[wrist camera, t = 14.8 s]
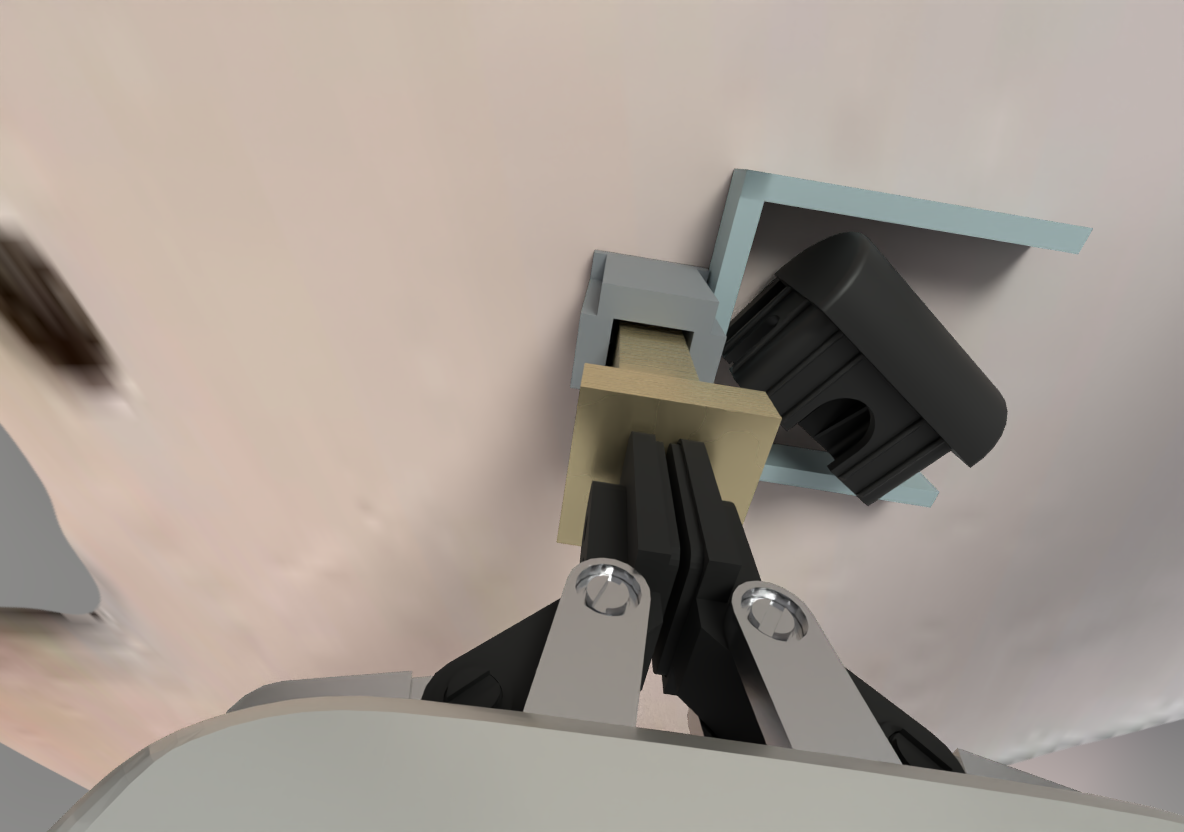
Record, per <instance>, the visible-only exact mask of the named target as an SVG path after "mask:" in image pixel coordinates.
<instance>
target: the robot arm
mask: <svg viewBox="0 0 1184 832" xmlns="http://www.w3.org/2000/svg"><path fill="white" fill-rule="evenodd" d="M651 659H652V666H653V672H654V674H659V675H662V682H663V694H670V695H677V696H678V697H679V698H680V699H681V700H682V701H683V702H684V703H685V704H686V705H687V706H688V707H689V709H688V714H687V718H688V727H689V730H690V734H691V735H690V734H683V733H676V732H668V731H661V730H653V729H646V728H639V727H636V719H637V711H638V702H639V694H640V691H641V690H642V688H643V685H644V682H645V678H646V675H647V672H648V669H649V665H650V662H651ZM47 832H1184V816H1182V815H1178V814H1175V813H1171V812H1168V811H1164V810H1161V809H1157V808H1153V807H1150V806H1145V805H1141V804H1136V803H1131V802H1126V801H1122V800H1117V799H1112V798H1108V797H1103V796H1098V795H1094V794H1088V793H1082V792H1080V791H1077V790H1074V789H1071V788H1068V787H1065V786H1063V785H1060V784H1057V783H1054V782H1052V781H1049V780H1045V779H1043V778H1040V777H1037V776H1035V775H1032V774H1029V773H1026V772H1023V771H1021V770H1018V769H1015V768H1012V767H1009V766H1007V765H1004V764H1001V763H998V762H995V761H993V760H990V759H987V758H984V757H981V756H979V755H976V754H973V753H970V752H967V751H964V750H962V749H959V748H957V749H956V750H955V752H954V753H953V754H952V752H951V751H950V750H949V749H948V748H947V746H946V745H945V744H944V743H942V742H941V741H940V740H939V739H938V738H937V737H936V736H935V735H933V734H932V733H931V732H930V731H929V730H927V729H926V728H925V727H923V726H922V725H921V724H919V723H918V722H917V721H915V720H914V719H913V718H911V717H910V716H909V715H907V714H906V713H905V712H903V711H902V710H901V709H900V708H898V707H897V706H896V705H894V704H893V703H892V702H890V701H889V700H888V699H886V698H885V697H884V696H882V695H881V694H880V693H878V692H877V691H876V690H874V689H873V688H872V687H870V686H869V685H868V684H866V683H865V682H864V681H863V680H861V679H860V678H859V677H857V676H856V675H855V674H853V673H852V672H851V671H849V670H848V669H847V668H845V667H844V666H843V664H842V662H841V661H840V659H839V657H838V655H837V654H836V652H835V650H834V649H833V647H832V645H831V644H830V642H829V640H828V639H827V637H826V635H825V634H824V632H823V630H822V629H821V627H820V625H819V624H818V622H817V620H816V619H815V617H814V615H813V614H812V612H811V611H810V610H809V608H808V607H807V606H806V605H805V603H804V602H802V601H801V600H800V599H799V598H798V597H797V596H795V595H794V594H793V593H791V592H789V591H788V590H786V589H784V588H783V587H780V586H777V585H775V584H772V583H769V582H763V581H761V579H760V576H759V573H758V570H757V567H756V564H755V561H754V558H753V555H752V552H751V549H750V547H749V544H748V541H747V538H746V535H745V532H744V529H743V526H742V523H741V520H740V517H739V514H738V511H737V509H736V506H735V504H734V503H733V502H730V501H724V500H722V498H721V495H720V492H719V489H718V485H717V482H716V479H715V476H714V472H713V469H712V466H711V463H710V459H709V456H708V453H707V450H706V446H705V444H704V442H699V441H693V440H686V439H679V440H678V442H677V444H673V443H670V444H669V446H668V449H667V453H666V456H665V449H664V443H663V442H660V441H656V437H655V435H654V434H648V433H641V432H635V431H631V433H630V437H629V441H628V446H627V451H626V455H625V460H624V465H623V469H622V474H621V479H620V483H619V484H612V483H606V482H599V481H593V480H592V483H591V488H590V493H589V498H588V504H587V510H586V516H585V522H584V529H583V537H582V545H581V556H580V564H578V565H577V566H576V567H574V568H573V569H572V571H571V572H570V574H569V576H568V578H567V581H566V584H565V587H564V590H563V593H562V596H561V598H560V599H558V600H557V601H555V602H553V603H551V604H550V605H548V606H546V607H544V608H543V609H541V610H539V611H538V612H536V613H534V614H532V615H531V616H529V617H527V618H526V619H524V620H522V621H520V622H519V623H517V624H515V625H513V626H512V627H510V628H508V629H507V630H505V631H503V632H501V633H500V634H498V635H496V636H495V637H493V638H491V639H489V640H488V641H486V642H484V643H482V644H481V645H479V646H477V647H476V648H474V649H472V650H470V651H469V652H467V653H465V654H464V655H462V656H460V657H458V658H457V659H455V660H453V661H451V662H450V663H448V664H447V665H445V666H444V667H443V668H442V669H440V670H439V671H438V672H436V673H435V675H434V676H429V677H417V678H412V671H403V672H391V673H378V674H365V675H352V676H340V677H327V678H314V679H302V680H289V681H281V682H277V683H272V684H268V685H264V686H262V687H260V688H258V689H256V690H254V691H252V692H251V693H249V694H247V695H245V696H244V697H243V698H241V699H240V700H239V701H238V702H237V703H236V704H235V705H233V706H232V707H231V708H230V709H229V710H228V711H227V712H226V714H223V715H220V716H217V717H214V718H211V719H207V720H204V721H201V722H199V723H196V724H194V725H191V726H188V727H186V728H183V729H181V730H178V731H176V732H174V733H172V734H170V735H168V736H166V737H164V738H162V739H160V740H158V741H156V742H154V743H152V744H150V745H149V746H147V747H145V748H144V749H142V750H141V751H139V752H138V753H136V754H135V755H133V756H132V757H131V758H129V759H128V760H126V761H125V762H124V763H122V764H121V765H119V766H118V767H117V768H115V769H114V770H113V771H112V772H110V773H109V774H108V775H107V776H105V777H104V778H103V779H102V780H101V781H100V782H99V783H98V784H96V785H95V786H94V787H93V788H92V789H91V790H90V791H89V792H87V793H86V794H85V795H84V796H83V797H82V798H81V799H80V800H78V801H77V802H76V803H75V804H74V805H73V806H72V807H71V808H70V809H69V810H68V811H67V812H66V813H65V814H64V815H63V816H62V817H61V818H60V819H59V820H58V821H57V822H56V823H55V824H54V825H53V826H52V827H51V828H50V829H49V830H48V831H47Z"/></svg>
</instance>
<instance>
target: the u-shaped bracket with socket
mask: <svg viewBox="0 0 1184 832" xmlns="http://www.w3.org/2000/svg"><path fill="white" fill-rule="evenodd" d="M764 201H766V202H772V203H778V204H784V205H790V206H796V207H801V208H807V209H813V210H819V211H825V212H831V213H837V214H843V215H849V216H855V217H861V218H867V219H872V220H878V221H884V222H890V223H896V224H902V225H908V226H914V227H920V228H926V229H932V230H938V231H943V232H949V233H955V234H961V235H967V236H973V237H979V238H985V239H991V240H997V241H1003V242H1009V243H1015V244H1020V245H1026V246H1032V247H1038V248H1044V249H1050V250H1056V251H1062V252H1068V253H1074V254H1079V252H1080V250H1081V249H1082V247H1083V245H1084V243H1085V242H1086V240H1087V238H1088V237H1089V235H1090V233H1091V231H1092V230H1093V228H1088V227H1082V226H1076V225H1070V224H1064V223H1058V222H1053V221H1047V220H1041V219H1035V218H1029V217H1023V216H1017V215H1011V214H1006V213H1000V212H994V211H988V210H982V209H976V208H970V207H964V206H959V205H953V204H947V203H941V202H935V201H929V200H923V199H917V198H911V197H906V196H900V195H894V194H888V193H882V192H876V191H870V190H864V189H859V188H853V187H847V186H841V185H835V184H829V183H823V182H817V181H812V180H806V179H800V178H794V177H788V176H782V175H776V174H770V173H765V172H759V171H753V170H746V169H734V172H733V176H732V180H731V184H730V188H729V192H728V196H727V200H726V204H725V208H724V212H723V216H722V220H721V224H720V228H719V232H718V235H717V239H716V243H715V247H714V251H713V255H712V259H711V263H710V267H709V270H708V269H707V268H703V267H697V266H691V265H685V264H679V263H673V262H667V261H661V260H655V259H649V258H643V257H637V256H631V255H624V254H618V253H612V252H606V251H600V250H595V251H594V257H593V264H592V271H591V278H590V282H589V285H588V289H587V292H586V296H585V300H584V303H583V307H582V311H581V315H580V322H579V329H578V336H577V343H576V350H575V357H574V364H573V371H572V378H571V385H570V388H575V389H580V386H581V380H582V375H583V370H584V364H585V363H589V364H596V365H602V366H608V367H611V359H612V354H613V348H614V343H615V337H616V332H617V326H618V320H619V319H620V320H626V321H632V322H638V323H644V324H650V325H657V326H663V327H669V328H675V329H681V330H682V333H683V335H684V338H685V341H686V344H687V347H688V350H689V353H690V355H691V358H692V361H693V364H694V367H695V370H696V372H697V375H698V378H699V381H701V382H707V383H714V380H715V376H716V373H717V369H718V366H719V362H720V359H721V355H722V352H723V348H724V345H725V342H726V338H727V336H726V333H727V330H728V326H729V323H730V319H731V316H732V313H733V309H734V306H735V302H736V299H737V295H738V292H739V288H740V285H741V281H742V278H743V274H744V271H745V267H746V264H747V260H748V257H749V253H750V250H751V246H752V243H753V239H754V236H755V232H756V229H757V225H758V222H759V218H760V215H761V211H762V208H763V204H764ZM833 461H834V459H833V457H832V456H831V455H830V454H829V453H828V452H824V451H818V450H811V449H805V448H799V447H792V446H786V445H780V444H774V443H773V444H772V447H771V449H770V452H769V455H768V458H767V460H766V463H765V466H764V468H763V471H762V474H761V476H760V479H759V481H765V482H772V483H778V484H784V485H791V486H797V487H803V488H810V489H816V490H822V491H829V492H835V493H841V494H848V495H854V496H856V495H855V494H854V493H853V492H852V491H851V490H850V489H849V488H848V487H846V486H845V485H844V484H843V483H842V482H841V481H840V480H839V479H838V478H837V477H836V476H835V475H834V474H832V473H831V472H830V470H829V469H828V467H827V465H829V464H830V463H831V462H833ZM938 494H939V491H938V490H937V489H936V488H935V487H934V486H933V485H932V484H931V483H930V482H929V481H928V480H927V479H926V478H925V477H924V476H923V475H922V474H921V473H920V472H918V473H917V474H915V475H914V476H912V477H911V478H909V479H908V480H906V481H905V482H903V483H902V484H900V485H899V486H897V487H896V488H894V489H893V490H891V491H890V492H888V493H887V494H885V495H884V496H883V497H881V498H880V500H886V501H892V502H899V503H905V504H911V505H918V506H924V507H931V506H932V504H933V502H934V501H935V499H936V497H937V495H938Z"/></svg>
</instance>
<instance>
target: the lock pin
mask: <svg viewBox="0 0 1184 832" xmlns="http://www.w3.org/2000/svg"><path fill="white" fill-rule="evenodd" d="M781 420H782V418H781V416H780V415H779V413H778V411H777V410H776V408H775V407H774V405H773V403H772V402H771V400H770V399H769V397H768V395H767V394H766V392H763V391H757V390H751V389H744V388H738V387H732V386H726V385H720V384H713V383H707V382H701V381H699V378H698V375H697V372H696V370H695V367H694V364H693V361H692V358H691V355H690V353H689V350H688V347H687V344H686V341H685V338H684V335H683V333H682V330H681V329H675V328H669V327H663V326H657V325H650V324H644V323H638V322H632V321H626V320H620V319H619V320H618V326H617V332H616V337H615V343H614V348H613V354H612V359H611V367H608V366H602V365H596V364H589V363H585V364H584V370H583V375H582V380H581V386H580V392H579V399H578V405H577V412H576V418H575V425H574V431H573V438H572V444H571V451H570V458H569V464H568V471H567V477H566V484H565V490H564V497H563V503H562V510H561V517H560V523H559V530H558V536H557V543H563V544H569V545H576V546H581V545H582V537H583V529H584V522H585V516H586V510H587V504H588V498H589V493H590V488H591V483H592V480H593V481H599V482H606V483H612V484H619V483H620V479H621V474H622V469H623V465H624V460H625V455H626V451H627V446H628V441H629V437H630V433H631V431H635V432H641V433H648V434H654V435H655V437H656V441H660V442H663V443H664V449H665V456H666V453H667V449H668V446H669V444H670V443H673V444H677V442H678V440H679V439H686V440H693V441H699V442H704V444H705V446H706V450H707V453H708V456H709V459H710V463H711V466H712V469H713V472H714V476H715V479H716V482H717V485H718V489H719V492H720V495H721V498H722V500H724V501H730V502H733V503H734V504H735V506H736V509H737V511H738V514H739V517H740V520H741V523H742V525H743V522H744V520H745V517H746V514H747V511H748V509H749V506H750V503H751V501H752V498H753V495H754V493H755V490H756V487H757V485H758V482H759V479H760V476H761V474H762V471H763V468H764V466H765V463H766V460H767V458H768V455H769V452H770V449H771V447H772V444H773V441H774V439H775V436H776V433H777V431H778V428H779V425H780V423H781Z"/></svg>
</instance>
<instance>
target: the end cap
mask: <svg viewBox="0 0 1184 832" xmlns="http://www.w3.org/2000/svg"><path fill="white" fill-rule="evenodd" d="M775 276H776V277H777V278H776V279H775V280H774V281H773V282H772V283H771V284H770V285H769V286H767V287H766V288H765V289H764V290H763V291H762V292H761V293H760V294H759V295H758V296H757V297H756V298H755V299H754V300H753V301H752V302H750V303H749V304H748V305H747V306H746V307H745V308H744V309H743V310H742V311H741V312H740V313H739V314H738V315H737V316H736V317H735V318H734V319H732V320H731V321H730V323H729V326H728V330H727V333H726V336H727V338H726V342H725V345H724V348H723V352H722V356H723V358H724V359H725V360H726V361H727V362H728V363H729V364H730V363H731V362H733V363H734V364H733V365H732V367H731V368H730V369H729V370H730V372H731V373H732V375H733V377H734V379H735V381H736V382H737V383H738V385H739V386H740V387H741V388H744V389H751V390H757V391H763V392H766V394H767V395H768V397H769V399H770V400H771V402H772V403H773V405H774V407H775V408H776V410H777V411H778V413H779V415H780V416H781V418H782V420H781V423H780V425H781V426H782V427H783V428H784V429H785V430H786V431H788V430H789V429H791V428H792V427H793V426H794V425H796V424H797V423H798V424H799V425H800V426H801V427H802V428H803V429H804V430H805V431H806V432H807V433H808V434H810V435H811V436H812V437H813V438H814V439H815V440H816V441H817V442H818V443H819V444H820V445H821V446H822V447H823V448H824V449H825V450H826V451H827V452H828V453H829V454H830V455H831V456H832V457H833V459H834V461H833V462H831V463H830V464H829V465H827V467H828V469H829V470H830V472H831V473H832V474H834V475H835V476H836V477H837V478H838V479H839V480H840V481H841V482H842V483H843V484H844V485H845V486H846V487H848V488H849V489H850V490H851V491H852V492H853V493H854V494H855V495H856V496H857V497H858V498H859V499H860V500H862V501H863V502H864V503H865V504H866V505H867V506H869V505H871V504H872V503H874V502H875V501H877V500H878V499H880V498H881V497H883V496H884V495H885V494H887V493H888V492H890V491H891V490H893V489H894V488H896V487H897V486H899V485H900V484H902V483H903V482H905V481H906V480H908V479H909V478H911V477H912V476H914V475H915V474H917V473H918V472H920V471H921V470H923V469H924V468H926V467H927V466H929V465H930V464H932V463H933V462H935V461H936V460H938V459H939V458H941V457H942V456H944V455H945V454H947V453H948V452H950V451H952V452H953V453H954V454H955V455H956V456H957V457H958V458H960V459H961V460H962V461H963V462H964V463H965V464H966V465H968V466H969V467H970V468H971V467H972V466H973V465H975V464H976V463H977V462H979V461H980V460H981V459H983V458H984V457H985V456H986V455H987V454H988V453H989V452H990V451H991V449H992V448H993V447H994V446H995V445H996V443H997V442H998V440H999V439H1000V437H1001V436H1002V433H1003V431H1004V428H1005V426H1006V421H1007V407H1006V402H1005V400H1004V398H1003V397H1002V395H1001V393H1000V392H999V391H998V389H997V388H996V387H995V386H994V385H993V384H992V382H991V381H990V380H989V379H988V378H987V376H986V375H985V374H984V373H983V372H982V371H981V369H980V368H979V367H978V366H977V365H976V364H975V362H974V361H973V360H972V359H971V358H970V357H969V355H968V354H967V353H966V352H965V351H964V350H963V348H962V347H961V346H960V345H959V344H958V343H957V341H956V340H955V339H954V338H953V337H952V336H951V334H950V333H949V332H948V331H947V330H946V329H945V327H944V326H943V325H942V324H941V323H940V321H939V320H938V319H937V318H936V317H935V316H934V314H933V313H932V312H931V311H930V310H929V309H928V307H927V306H926V305H925V304H924V303H923V302H922V300H921V299H920V298H919V297H918V296H917V295H916V293H915V292H914V291H913V290H912V289H911V288H910V286H909V285H908V284H907V283H906V282H905V281H904V279H903V278H902V277H901V276H900V275H899V273H898V272H897V271H896V270H895V269H894V268H893V266H892V265H891V264H890V263H889V262H888V261H887V259H886V258H885V257H884V256H883V255H882V254H881V252H880V251H879V250H878V249H877V248H876V247H875V245H874V244H873V243H872V242H871V241H870V240H869V238H868V237H866V236H865V235H863V234H861V233H859V232H845V233H839V234H836V235H833V236H831V237H828V238H826V239H824V240H822V241H820V242H818V243H816V244H814V245H813V246H811V247H809V248H808V249H806V250H804V251H803V252H802V253H800V254H799V255H797V256H796V257H794V258H793V259H792V260H791V261H789V262H788V263H787V264H786V265H784V266H783V267H782V268H781V269H780V270H779V271H778V272H777V273H775Z"/></svg>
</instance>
